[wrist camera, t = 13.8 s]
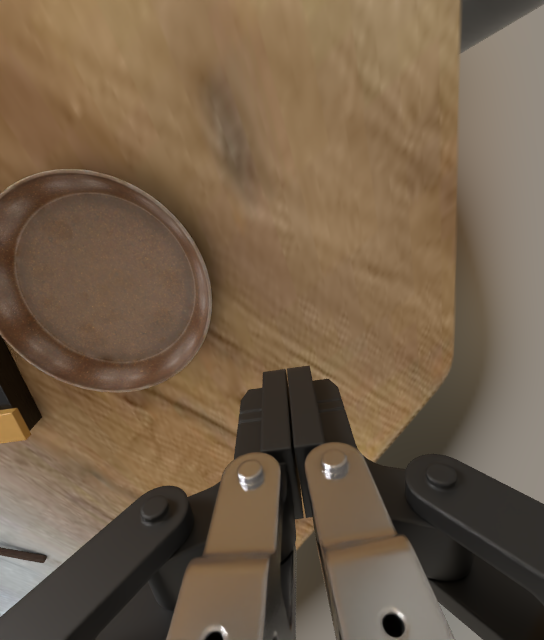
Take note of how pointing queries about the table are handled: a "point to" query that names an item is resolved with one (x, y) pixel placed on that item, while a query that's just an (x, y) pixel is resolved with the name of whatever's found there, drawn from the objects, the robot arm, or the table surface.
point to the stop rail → (14, 401)
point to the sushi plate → (22, 555)
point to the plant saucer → (99, 282)
